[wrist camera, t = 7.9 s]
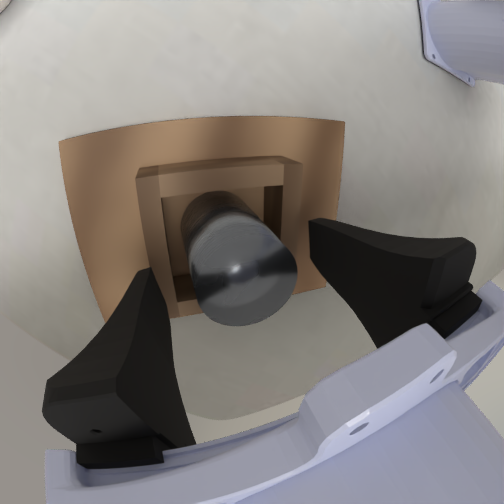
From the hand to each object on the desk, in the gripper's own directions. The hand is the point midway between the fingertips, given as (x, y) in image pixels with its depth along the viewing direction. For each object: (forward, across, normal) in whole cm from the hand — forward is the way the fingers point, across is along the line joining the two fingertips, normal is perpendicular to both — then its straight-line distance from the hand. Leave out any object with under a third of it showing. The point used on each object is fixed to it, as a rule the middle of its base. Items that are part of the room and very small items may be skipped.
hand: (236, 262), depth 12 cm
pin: (+4, 0, 0) cm, 4 cm away
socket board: (+5, 0, 0) cm, 5 cm away
